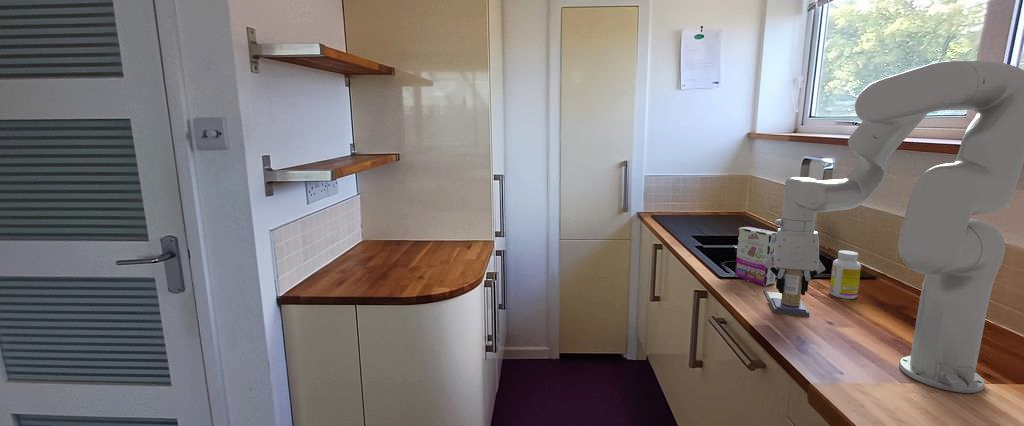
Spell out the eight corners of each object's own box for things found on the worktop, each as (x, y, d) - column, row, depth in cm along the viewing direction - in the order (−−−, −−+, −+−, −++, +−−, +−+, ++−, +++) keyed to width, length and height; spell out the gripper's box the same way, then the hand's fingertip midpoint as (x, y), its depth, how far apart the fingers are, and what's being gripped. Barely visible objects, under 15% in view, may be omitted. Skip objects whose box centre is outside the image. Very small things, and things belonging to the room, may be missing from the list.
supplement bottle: (862, 297, 136) (868, 254, 133) (846, 301, 134) (852, 256, 131) (839, 290, 142) (844, 248, 140) (823, 293, 140) (828, 250, 137)
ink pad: (808, 316, 123) (809, 311, 123) (774, 313, 126) (774, 307, 126) (801, 305, 131) (802, 299, 130) (768, 302, 133) (769, 296, 133)
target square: (800, 304, 132) (800, 303, 132) (768, 300, 134) (768, 299, 134) (794, 294, 139) (794, 293, 139) (763, 291, 142) (763, 290, 142)
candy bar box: (776, 284, 147) (781, 232, 144) (765, 287, 145) (770, 234, 142) (744, 274, 157) (748, 225, 154) (733, 276, 155) (737, 227, 152)
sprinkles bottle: (803, 304, 127) (808, 255, 125) (794, 308, 124) (799, 257, 122) (785, 299, 131) (789, 251, 128) (776, 303, 128) (780, 254, 126)
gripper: (763, 226, 123) (757, 294, 126) (840, 230, 118) (832, 301, 121) (759, 220, 130) (753, 285, 133) (831, 224, 125) (823, 291, 128)
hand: (791, 292), depth 127 cm, fingers closed on sprinkles bottle, 4 cm apart
